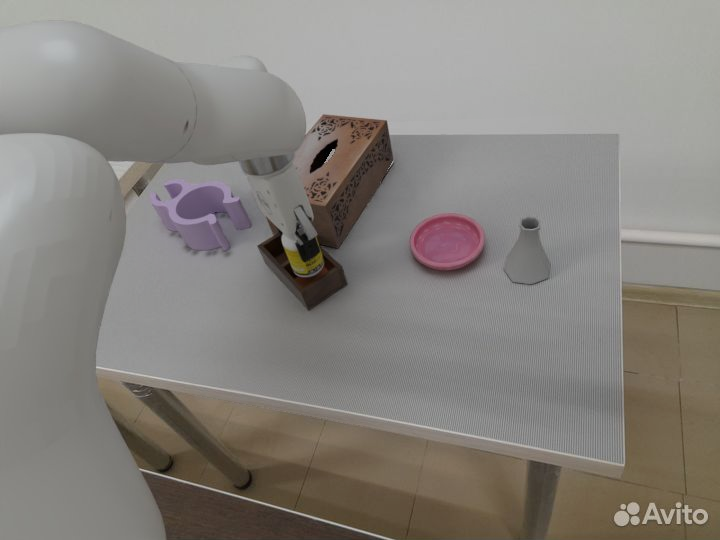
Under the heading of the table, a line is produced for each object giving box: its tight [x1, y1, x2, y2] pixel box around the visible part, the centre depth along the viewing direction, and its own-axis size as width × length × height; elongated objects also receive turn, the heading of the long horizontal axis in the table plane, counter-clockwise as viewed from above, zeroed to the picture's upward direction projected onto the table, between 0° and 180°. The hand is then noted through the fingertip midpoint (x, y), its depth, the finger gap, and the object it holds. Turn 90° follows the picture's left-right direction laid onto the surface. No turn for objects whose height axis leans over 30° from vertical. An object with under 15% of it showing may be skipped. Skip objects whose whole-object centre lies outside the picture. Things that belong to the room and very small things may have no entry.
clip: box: [148, 178, 252, 251], centre depth 104 cm, size 20×12×7 cm, turn 58°
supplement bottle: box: [281, 221, 324, 277], centre depth 83 cm, size 5×5×10 cm
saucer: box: [409, 212, 486, 271], centre depth 88 cm, size 12×12×3 cm
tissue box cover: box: [265, 113, 394, 249], centre depth 101 cm, size 26×14×10 cm, turn 154°
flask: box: [503, 215, 551, 285], centre depth 80 cm, size 7×7×10 cm
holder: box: [256, 233, 348, 312], centre depth 91 cm, size 8×15×5 cm, turn 36°
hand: (300, 246), depth 83 cm, fingers closed on supplement bottle, 5 cm apart
